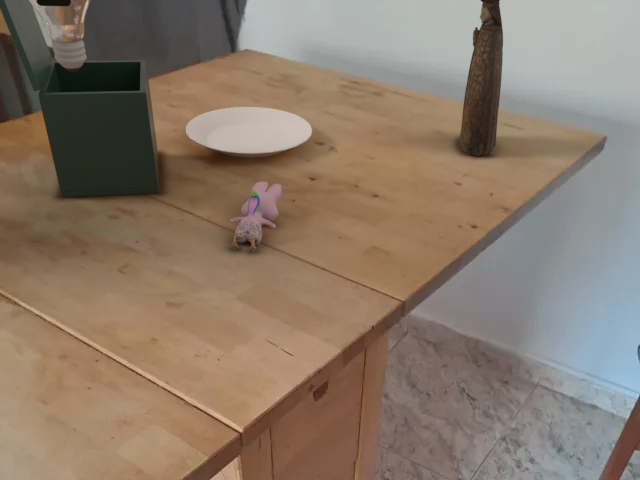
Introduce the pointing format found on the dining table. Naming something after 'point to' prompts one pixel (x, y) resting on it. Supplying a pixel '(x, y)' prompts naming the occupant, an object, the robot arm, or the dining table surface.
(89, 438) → the dining table surface
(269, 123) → the plate
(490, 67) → the statue
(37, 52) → the bin lid
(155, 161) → the waste bin
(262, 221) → the rabbit figure
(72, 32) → the light bulb
